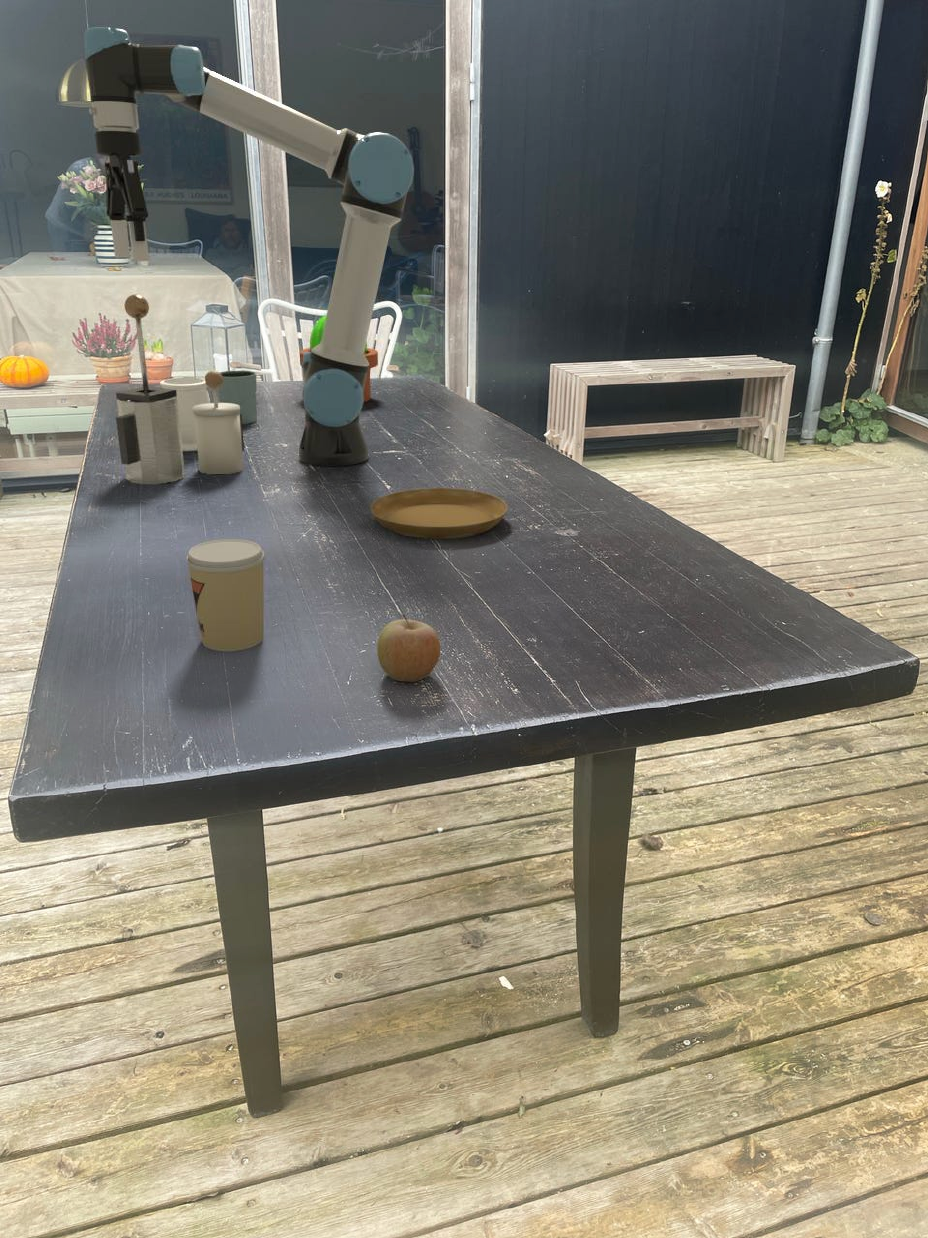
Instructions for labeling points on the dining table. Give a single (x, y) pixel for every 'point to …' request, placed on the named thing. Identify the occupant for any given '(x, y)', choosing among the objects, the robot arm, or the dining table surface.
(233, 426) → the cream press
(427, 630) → the fruit
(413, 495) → the plant saucer
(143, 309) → the plunger
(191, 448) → the jar
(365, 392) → the potted cactus
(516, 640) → the dining table surface
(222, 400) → the teal pot
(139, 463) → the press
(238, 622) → the coffee cup
